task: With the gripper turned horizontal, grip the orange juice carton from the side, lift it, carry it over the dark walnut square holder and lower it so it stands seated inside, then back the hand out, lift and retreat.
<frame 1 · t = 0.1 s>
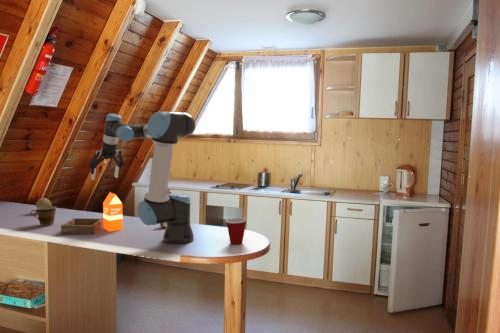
hand: (104, 178, 226), 28 cm above the table, tool tilted 20°, fingers open, 13 cm apart
holder: (83, 230, 222), on the table
ceramic cup: (44, 225, 231), on the table
hinge: (172, 226, 235), on the table
natural sponge: (43, 213, 262), on the table
orange juice: (113, 229, 225), on the table
plastic cup: (235, 243, 202), on the table
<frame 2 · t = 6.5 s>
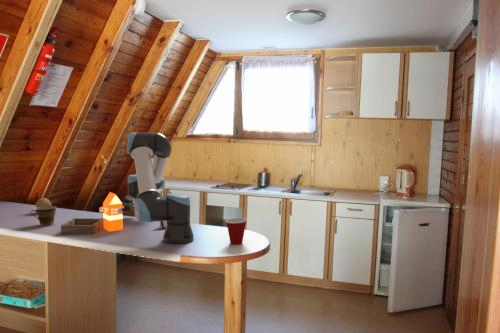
hand: (109, 210, 220), 11 cm above the table, tool horizontal, fingers closed on orange juice, 10 cm apart
orange juice: (113, 229, 225), on the table, touching gripper
when the fingers open (13 cm above the table, at t = 11.5 s): orange juice drops 1 cm, resting on holder.
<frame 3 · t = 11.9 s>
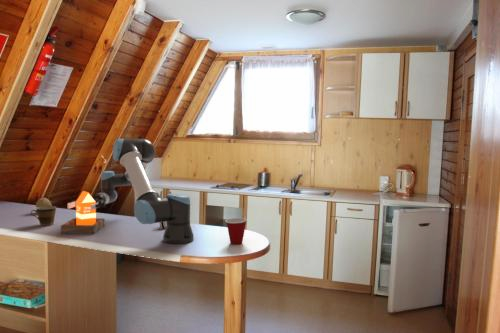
hand: (79, 206, 217), 13 cm above the table, tool horizontal, fingers open, 13 cm apart
orange juice: (86, 228, 222), point 1 cm above the table, touching gripper, holder
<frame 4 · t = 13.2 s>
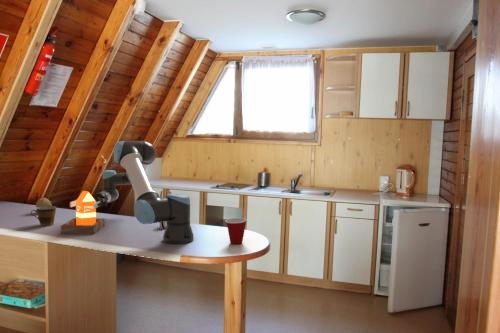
hand: (82, 205, 220), 14 cm above the table, tool horizontal, fingers open, 13 cm apart
orange juice: (86, 228, 222), point 1 cm above the table, touching holder
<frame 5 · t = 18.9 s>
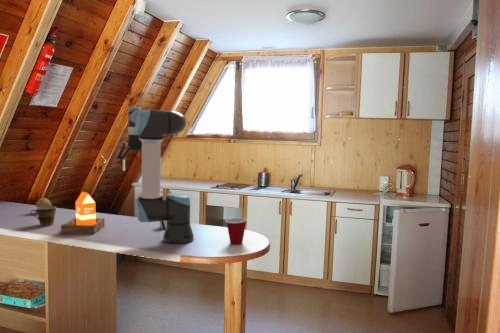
hand: (135, 170, 237), 31 cm above the table, tool pointing down, fingers open, 13 cm apart
at the end: orange juice 1.4 cm off-centre on the holder, point 0.6 cm above the holder's base; orange juice tilted 0°; the gripper is holding nothing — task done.
